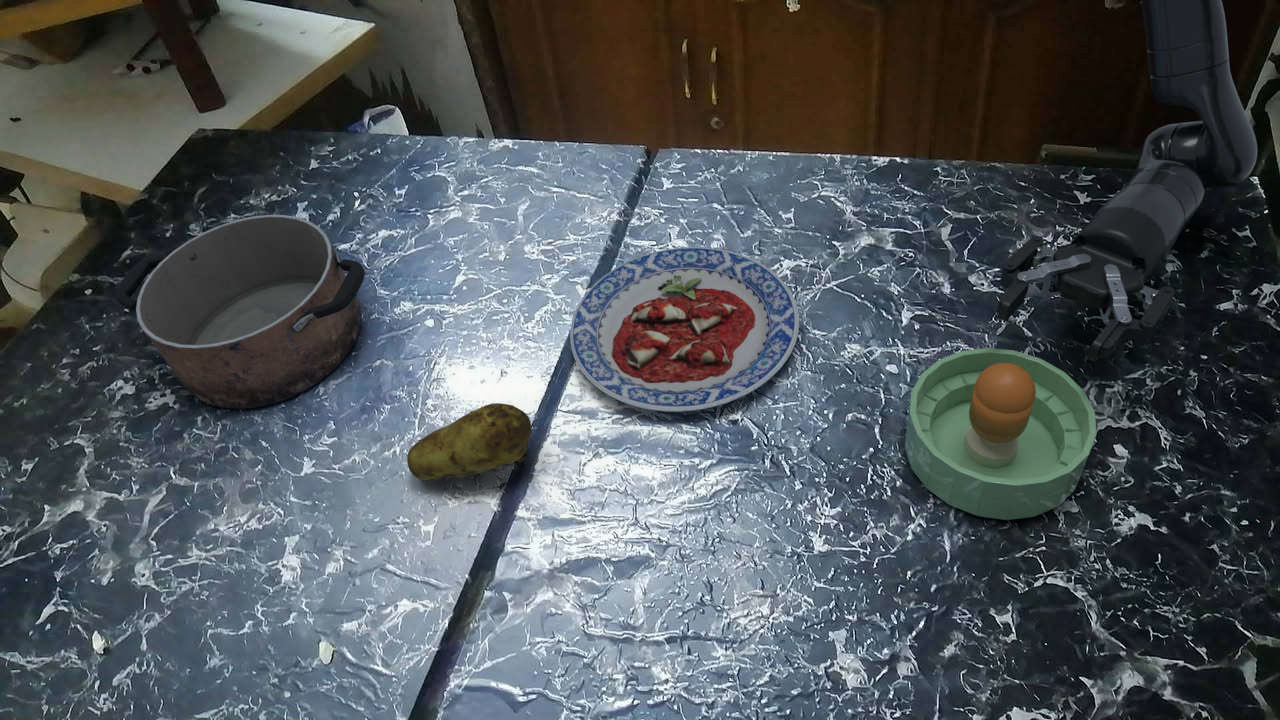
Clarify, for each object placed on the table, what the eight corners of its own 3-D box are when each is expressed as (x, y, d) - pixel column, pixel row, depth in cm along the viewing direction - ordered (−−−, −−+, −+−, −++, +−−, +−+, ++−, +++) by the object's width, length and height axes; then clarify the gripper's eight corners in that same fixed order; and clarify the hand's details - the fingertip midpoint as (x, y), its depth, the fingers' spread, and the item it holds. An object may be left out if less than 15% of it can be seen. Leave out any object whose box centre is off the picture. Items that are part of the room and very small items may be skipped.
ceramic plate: (777, 439, 94) (776, 421, 92) (542, 405, 101) (536, 387, 99) (815, 270, 110) (815, 251, 108) (610, 251, 117) (607, 233, 115)
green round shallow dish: (1044, 379, 95) (1057, 338, 91) (1109, 511, 84) (1126, 472, 80) (887, 398, 96) (891, 359, 92) (930, 532, 85) (937, 494, 81)
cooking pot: (416, 282, 118) (390, 216, 110) (351, 419, 103) (315, 353, 95) (208, 276, 124) (168, 213, 116) (118, 404, 109) (66, 341, 101)
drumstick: (1008, 423, 91) (1029, 347, 83) (1026, 466, 88) (1049, 390, 80) (955, 429, 92) (971, 354, 84) (971, 472, 88) (989, 397, 80)
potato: (439, 426, 101) (417, 378, 95) (549, 442, 98) (534, 393, 92) (407, 488, 96) (382, 441, 90) (523, 508, 92) (504, 460, 86)
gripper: (1065, 182, 92) (980, 272, 85) (1216, 235, 85) (1137, 338, 78) (1050, 240, 98) (969, 329, 91) (1190, 294, 90) (1114, 396, 83)
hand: (1047, 333), depth 84 cm, fingers open, 8 cm apart
